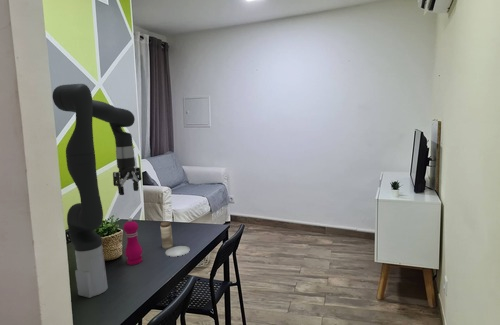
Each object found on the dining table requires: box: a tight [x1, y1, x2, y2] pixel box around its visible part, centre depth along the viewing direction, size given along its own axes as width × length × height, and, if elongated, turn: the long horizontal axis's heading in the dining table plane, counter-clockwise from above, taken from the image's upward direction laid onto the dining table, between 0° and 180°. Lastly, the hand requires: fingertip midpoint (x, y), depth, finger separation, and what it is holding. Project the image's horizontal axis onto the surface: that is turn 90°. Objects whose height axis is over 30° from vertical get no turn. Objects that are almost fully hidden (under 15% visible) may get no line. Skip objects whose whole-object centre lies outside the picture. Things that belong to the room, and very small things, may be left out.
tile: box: [165, 245, 191, 258], centre depth 163 cm, size 11×11×1 cm
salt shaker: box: [159, 220, 174, 250], centre depth 169 cm, size 5×5×12 cm
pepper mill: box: [123, 217, 143, 266], centre depth 153 cm, size 7×7×20 cm
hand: (129, 192), depth 157 cm, fingers open, 8 cm apart
